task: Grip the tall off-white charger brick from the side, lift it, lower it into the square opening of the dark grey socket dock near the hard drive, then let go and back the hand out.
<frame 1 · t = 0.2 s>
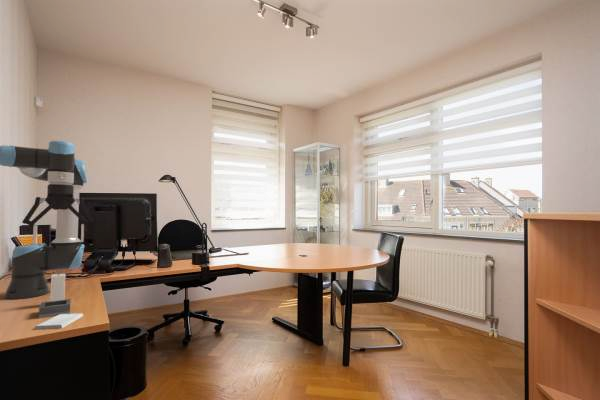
hand: (59, 242, 113), 27 cm above the table, tool pointing down, fingers open, 13 cm apart
charger: (57, 304, 129), on the table
socket dock: (55, 312, 118), on the table
hard drive: (60, 324, 108), on the table
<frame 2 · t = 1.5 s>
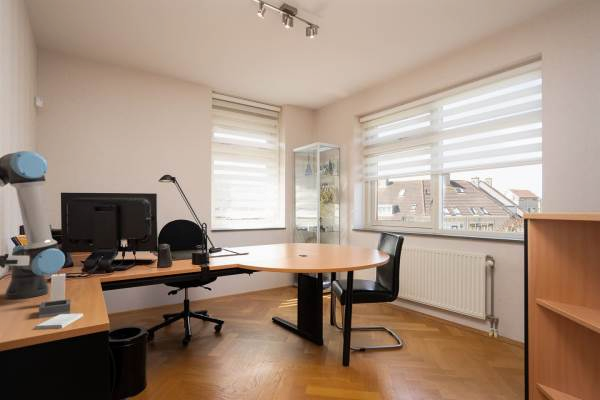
hand: (29, 260, 125), 19 cm above the table, tool horizontal, fingers open, 13 cm apart
nothing on the table moved.
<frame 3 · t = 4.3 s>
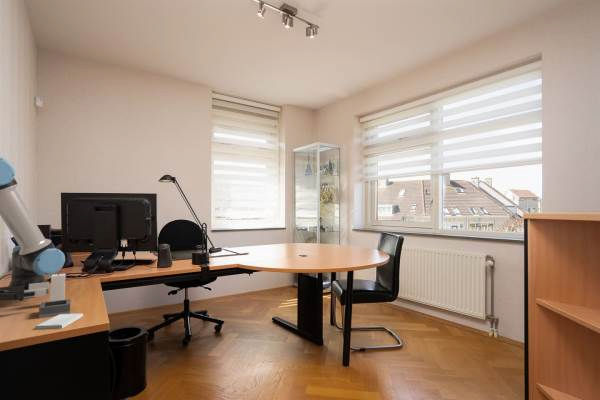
hand: (47, 288, 127), 7 cm above the table, tool horizontal, fingers open, 13 cm apart
nothing on the table moved.
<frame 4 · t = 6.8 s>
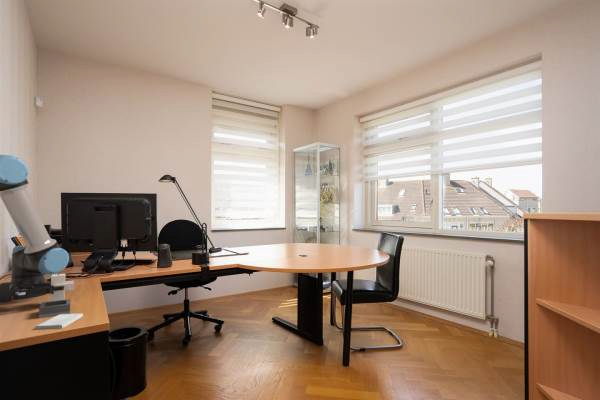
hand: (73, 285, 133), 7 cm above the table, tool horizontal, fingers closed on charger, 4 cm apart
charger: (57, 303, 129), on the table, touching gripper
everything else where it was.
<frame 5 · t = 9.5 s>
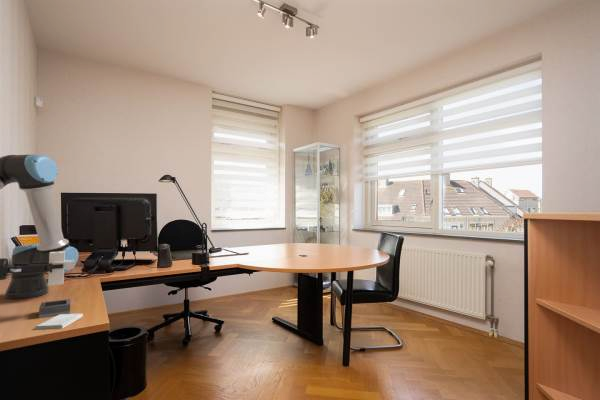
hand: (74, 264, 122), 18 cm above the table, tool horizontal, fingers closed on charger, 4 cm apart
charger: (55, 283, 118), point 11 cm above the table, touching gripper
everything else where it was.
when the fingers open (9 cm above the table, at t = 12.3 s): charger drops 1 cm, resting on socket dock.
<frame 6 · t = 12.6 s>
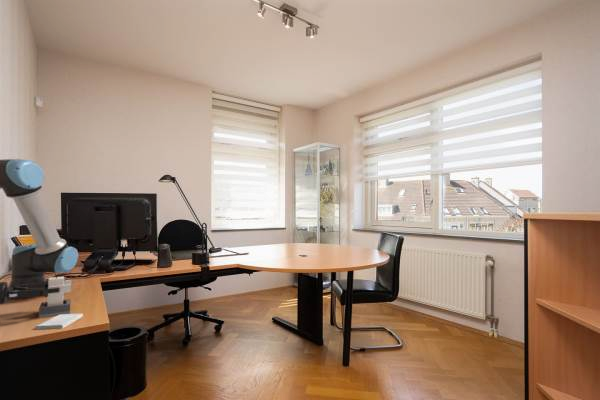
hand: (71, 285, 121), 10 cm above the table, tool horizontal, fingers open, 9 cm apart
charger: (55, 310, 118), point 1 cm above the table, touching socket dock
everything else where it was.
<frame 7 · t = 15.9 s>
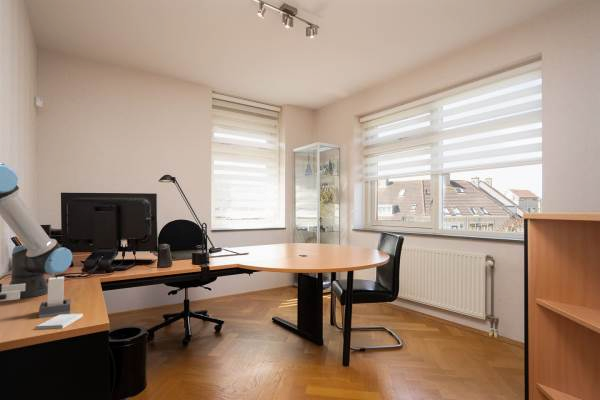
hand: (22, 290, 113), 10 cm above the table, tool horizontal, fingers open, 13 cm apart
nothing on the table moved.
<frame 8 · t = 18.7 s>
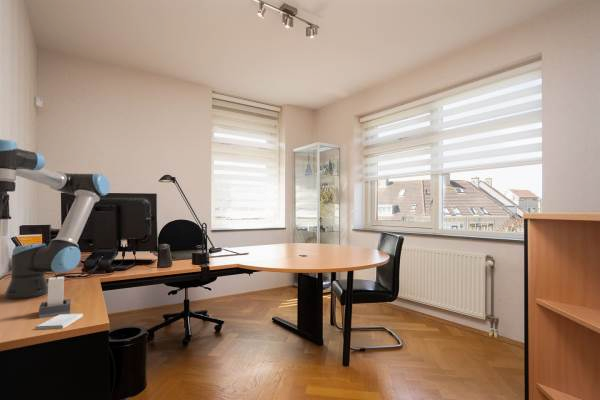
nothing on the table moved.
at the end: charger 0.1 cm off-centre on the socket dock, point 1.0 cm above the socket dock's base; charger tilted 0°; hard drive moved 0.9 cm from its start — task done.
